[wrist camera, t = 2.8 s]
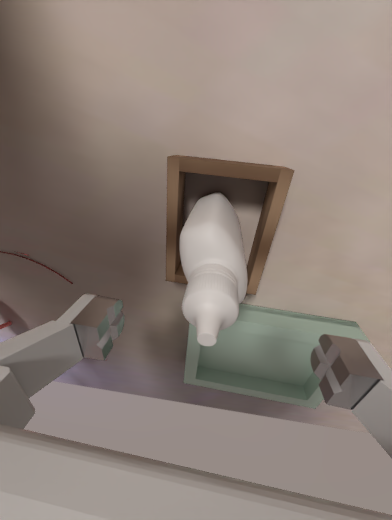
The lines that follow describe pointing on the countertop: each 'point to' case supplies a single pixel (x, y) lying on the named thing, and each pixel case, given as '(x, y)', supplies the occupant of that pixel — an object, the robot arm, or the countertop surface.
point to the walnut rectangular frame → (181, 164)
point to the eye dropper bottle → (212, 267)
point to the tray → (265, 355)
